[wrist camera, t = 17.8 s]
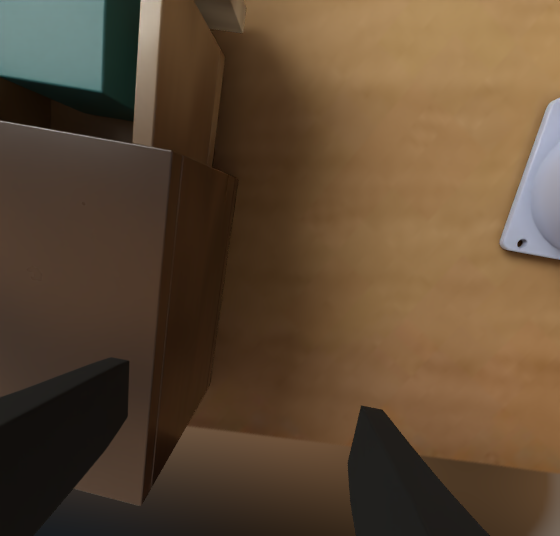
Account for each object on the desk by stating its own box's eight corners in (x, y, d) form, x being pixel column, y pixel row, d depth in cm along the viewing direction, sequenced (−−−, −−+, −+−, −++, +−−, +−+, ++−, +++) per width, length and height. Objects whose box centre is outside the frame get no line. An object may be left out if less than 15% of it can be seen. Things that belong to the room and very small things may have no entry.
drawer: (42, -130, 14) (-186, -420, 8) (261, -105, 14) (215, -403, 7) (45, 225, 18) (-105, 234, 12) (214, 259, 18) (156, 289, 11)
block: (169, 31, 14) (107, -48, 10) (162, 126, 15) (102, 93, 11) (86, 19, 15) (-10, -63, 10) (84, 113, 16) (-5, 75, 11)
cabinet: (48, 144, 18) (-176, 89, 10) (238, 178, 17) (172, 150, 9) (49, 348, 21) (-120, 439, 13) (209, 385, 20) (141, 507, 12)
